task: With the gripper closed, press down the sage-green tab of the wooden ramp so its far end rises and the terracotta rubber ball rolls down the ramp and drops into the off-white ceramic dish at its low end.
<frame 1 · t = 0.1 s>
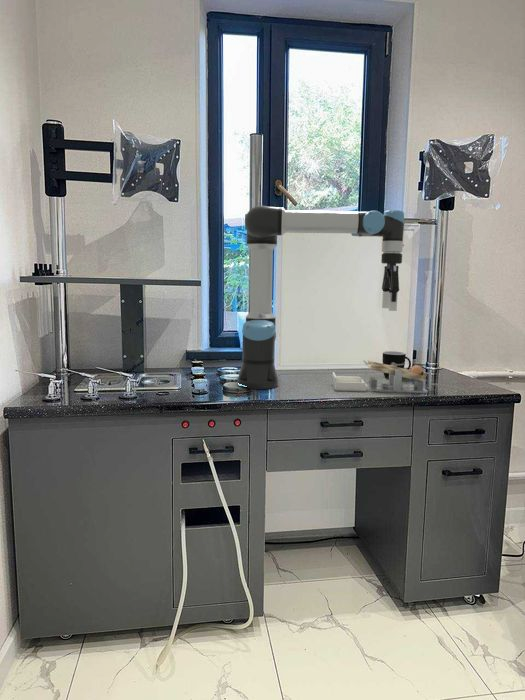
hand: (388, 309, 195), 28 cm above the table, fingers open, 13 cm apart
dish: (348, 387, 187), on the table
stand: (394, 388, 186), on the table
mug: (396, 377, 206), on the table
wooden ramp: (393, 368, 189), point 7 cm above the table, hinge at 12.0°, touching ball
ball: (416, 370, 185), point 7 cm above the table, tilted 10°, touching wooden ramp
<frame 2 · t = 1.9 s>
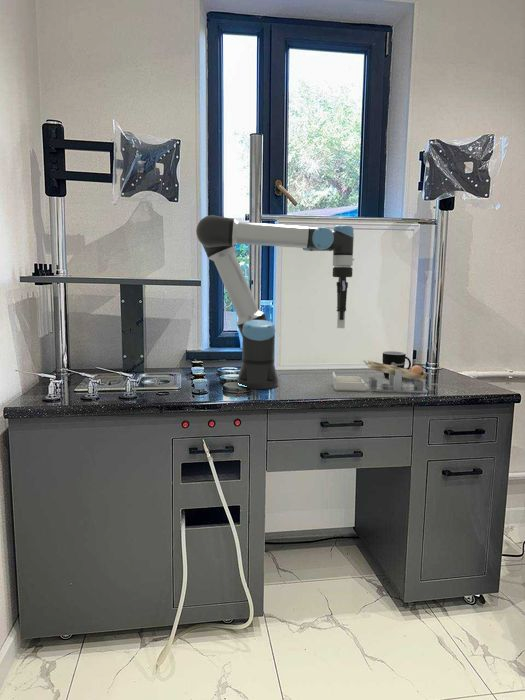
hand: (340, 328, 199), 20 cm above the table, fingers closed
nothing on the table moved.
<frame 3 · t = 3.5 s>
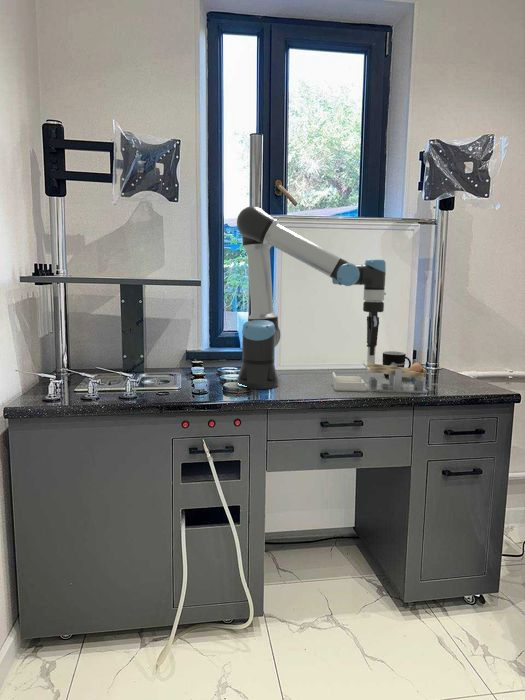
hand: (370, 363, 194), 8 cm above the table, fingers closed
wooden ramp: (393, 368, 189), point 7 cm above the table, hinge at 5.9°, touching ball, gripper
ball: (416, 368, 184), point 8 cm above the table, touching wooden ramp
everything else where it was.
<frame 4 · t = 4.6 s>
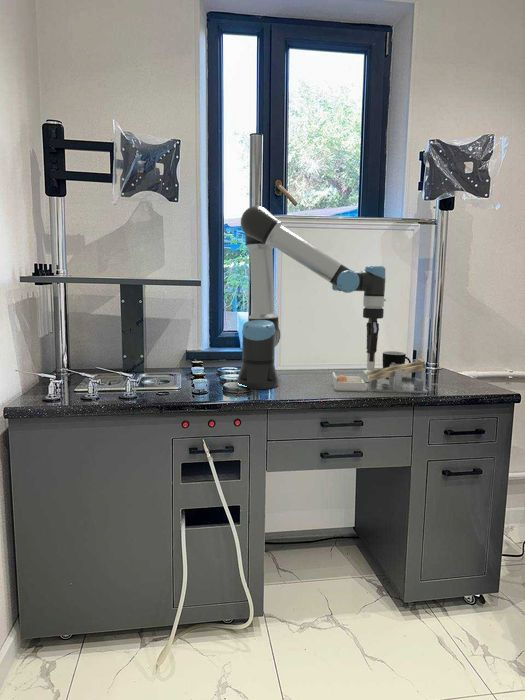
hand: (370, 369, 194), 5 cm above the table, fingers closed
wooden ramp: (392, 368, 189), point 7 cm above the table, hinge at -13.0°, touching gripper
ball: (341, 380, 186), point 2 cm above the table, tilted 104°, touching dish
everything else where it was.
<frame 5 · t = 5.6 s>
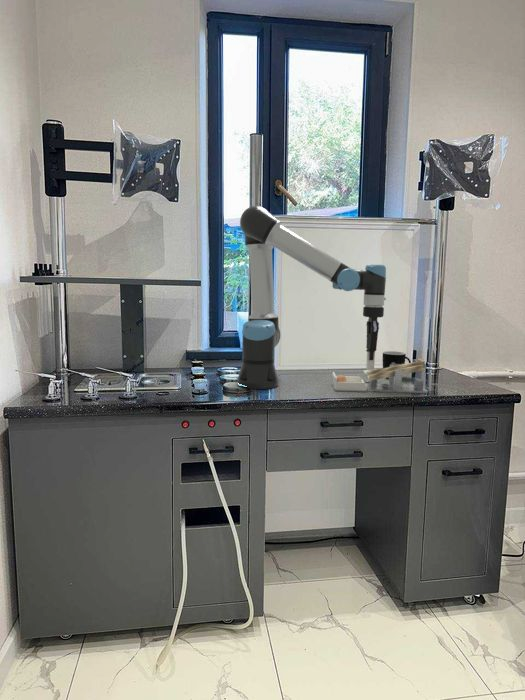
hand: (370, 368, 194), 6 cm above the table, fingers closed
wooden ramp: (392, 368, 189), point 7 cm above the table, hinge at -13.0°
ball: (341, 380, 186), point 2 cm above the table, tilted 110°, touching dish
everything else where it was.
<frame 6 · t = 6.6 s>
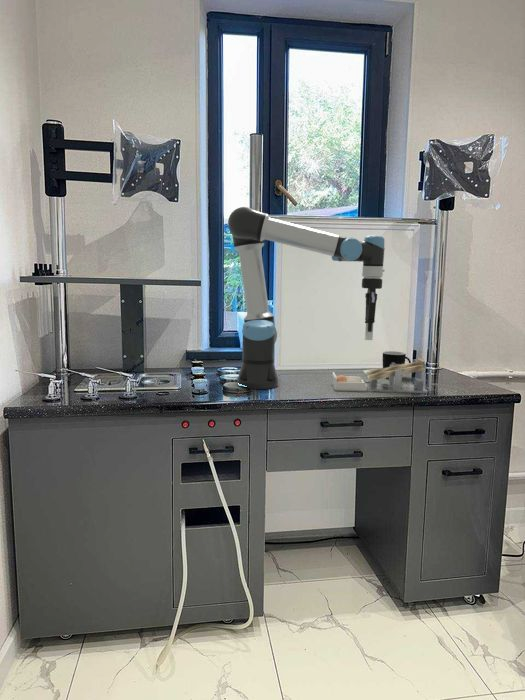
hand: (368, 339, 196), 16 cm above the table, fingers closed
ball: (341, 380, 186), point 2 cm above the table, tilted 105°, touching dish
everything else where it was.
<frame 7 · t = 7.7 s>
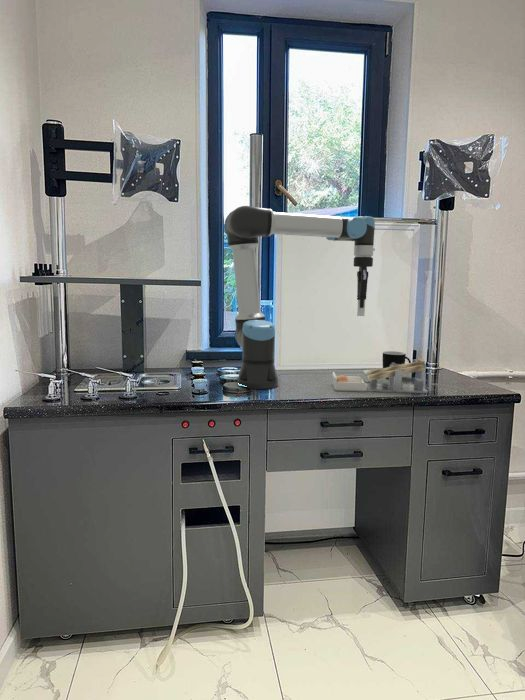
hand: (360, 315, 206), 24 cm above the table, fingers closed
ball: (342, 380, 186), point 2 cm above the table, tilted 99°, touching dish
everything else where it was.
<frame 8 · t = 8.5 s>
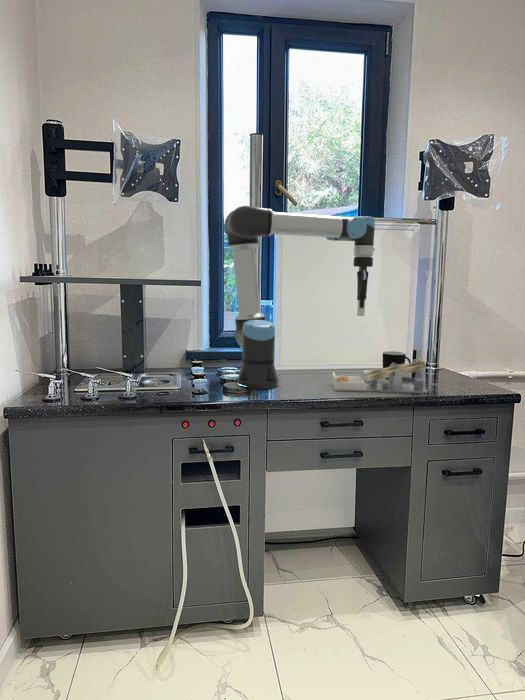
hand: (360, 315, 206), 24 cm above the table, fingers closed
nothing on the table moved.
at the end: ball inside the target area on the dish (2.4 cm from its centre), point 2.5 cm above the dish's base; wooden ramp at -13° (first picture: +12°) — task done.
